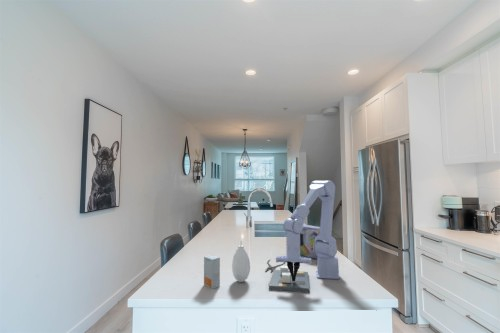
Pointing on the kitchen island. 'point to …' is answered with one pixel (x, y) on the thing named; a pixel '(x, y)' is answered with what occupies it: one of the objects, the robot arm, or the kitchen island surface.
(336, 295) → the kitchen island surface
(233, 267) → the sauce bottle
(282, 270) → the far tab
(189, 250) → the kitchen island surface
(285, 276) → the white rectangular block
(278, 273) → the panel
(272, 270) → the pliers
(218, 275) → the skincare box
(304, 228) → the cake pan box
